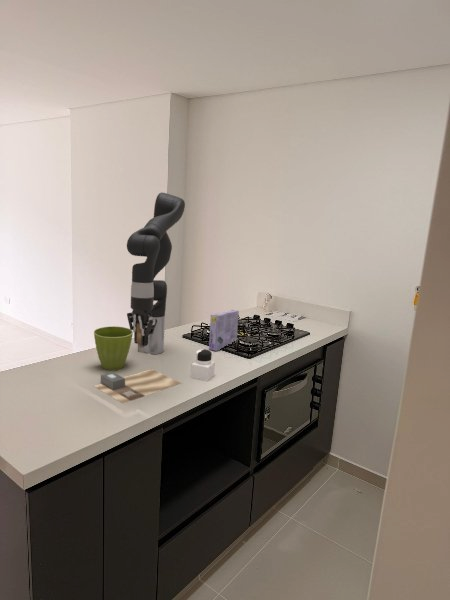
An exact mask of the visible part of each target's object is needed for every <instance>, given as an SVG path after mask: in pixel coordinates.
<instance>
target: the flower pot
mask: <svg viewBox="0 0 450 600" xmlns="http://www.w3.org/2000/svg"><path fill="white" fill-rule="evenodd" d="M93 336H94V343H95V347H96V351H97V355H98V356H97V357H98V360H99V362H100V364H101V365H100V366H101V368H102V369H104V370H109V371H115V370H116V371H117V370H120V369H122V368H124V366H125V364H126V361H127V358H128V356H129V352H130V348H131V346H132V339H133V336H134V332H133V330H130V328H127V327H124V326H104V327H99V328H96V329H95V330H94V331H93Z"/></svg>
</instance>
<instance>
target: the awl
mask: <svg viewBox="0 0 450 600" xmlns="http://www.w3.org/2000/svg"><path fill="white" fill-rule="evenodd" d="M143 326H146V325H143ZM145 332H146V328H145ZM141 339H142V331H141V329H140V324H138V323H137V340H136V342H137V343H138V344H137V353H142V354H143V353H145V352H144V346H142V345H141Z"/></svg>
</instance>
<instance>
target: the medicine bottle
mask: <svg viewBox="0 0 450 600" xmlns="http://www.w3.org/2000/svg"><path fill="white" fill-rule="evenodd" d="M212 355H213V354H212V350H211V351H210V349H209V350H208V349H206V348H205V349H204V348H203V349H202V348H201V349H198V350H196V352H195V361H193V362H192V364H191V369H190V370H191V371H190V378H191V379H196V380H201V381H205V382H208V381H210V380H211V378H213V376H214V375H215V364H216V363H215V361H213V360H212V357H213V356H212Z"/></svg>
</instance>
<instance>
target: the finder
mask: <svg viewBox="0 0 450 600" xmlns="http://www.w3.org/2000/svg"><path fill="white" fill-rule="evenodd" d="M123 377H124V376H121V375H120V374H119V373H118V374H117V373H116V372H115V371H114V372H113V371H111V372H107V373H103V374H100V384H104V385H105V386H107V387H109V388H110V389H112V390H115V389H118V388H121V387H125V378H123Z"/></svg>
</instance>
